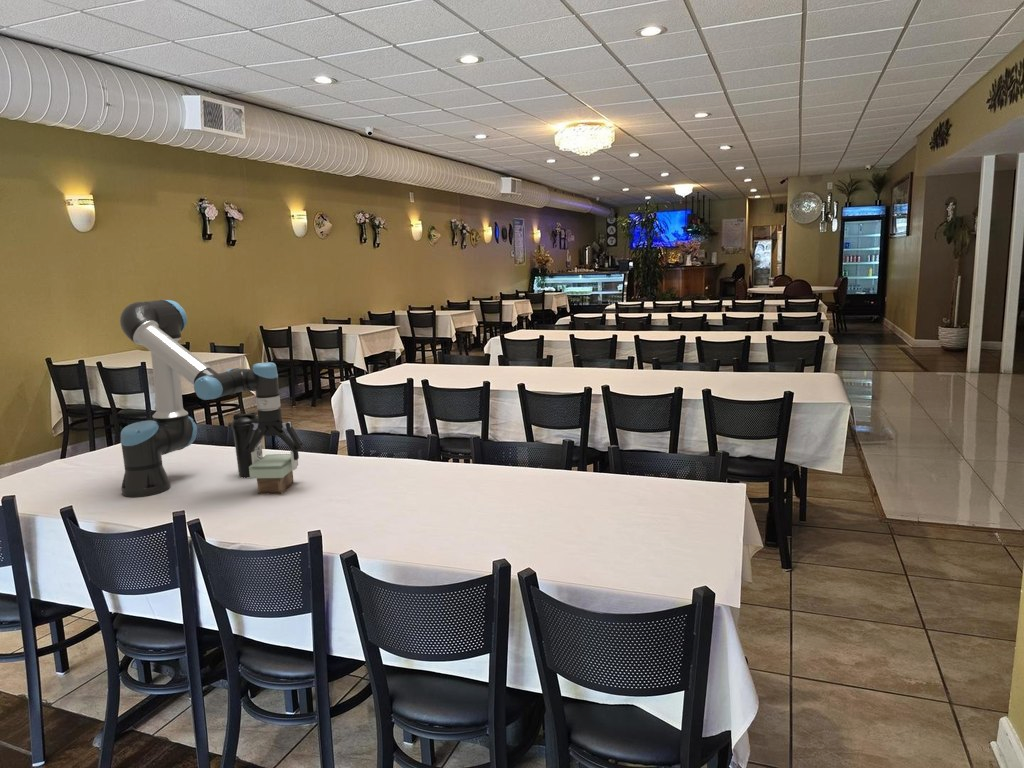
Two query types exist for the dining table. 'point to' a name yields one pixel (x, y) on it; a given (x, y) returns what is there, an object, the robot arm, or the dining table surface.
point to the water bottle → (240, 435)
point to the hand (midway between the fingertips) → (275, 469)
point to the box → (274, 484)
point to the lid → (271, 466)
